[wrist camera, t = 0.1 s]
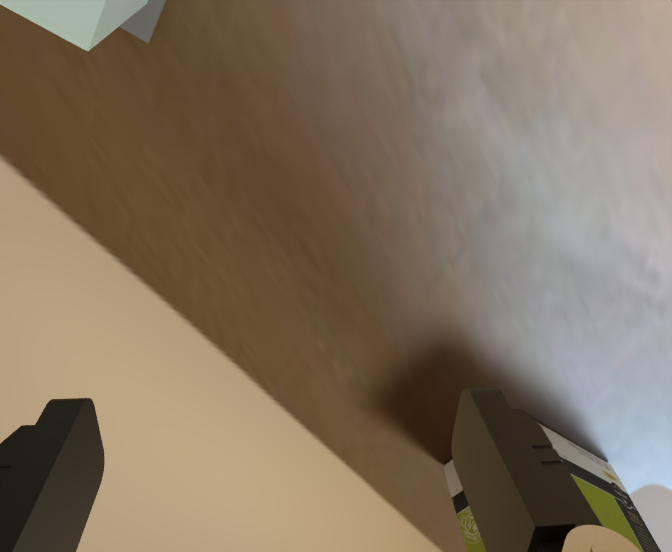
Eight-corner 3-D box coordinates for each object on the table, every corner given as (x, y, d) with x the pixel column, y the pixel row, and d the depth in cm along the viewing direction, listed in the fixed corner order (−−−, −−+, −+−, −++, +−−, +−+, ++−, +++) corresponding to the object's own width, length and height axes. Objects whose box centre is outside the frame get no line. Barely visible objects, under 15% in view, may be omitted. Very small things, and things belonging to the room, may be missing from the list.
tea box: (437, 466, 51) (487, 640, 39) (517, 406, 47) (600, 581, 35) (535, 511, 57) (603, 673, 45) (613, 462, 53) (710, 626, 41)
